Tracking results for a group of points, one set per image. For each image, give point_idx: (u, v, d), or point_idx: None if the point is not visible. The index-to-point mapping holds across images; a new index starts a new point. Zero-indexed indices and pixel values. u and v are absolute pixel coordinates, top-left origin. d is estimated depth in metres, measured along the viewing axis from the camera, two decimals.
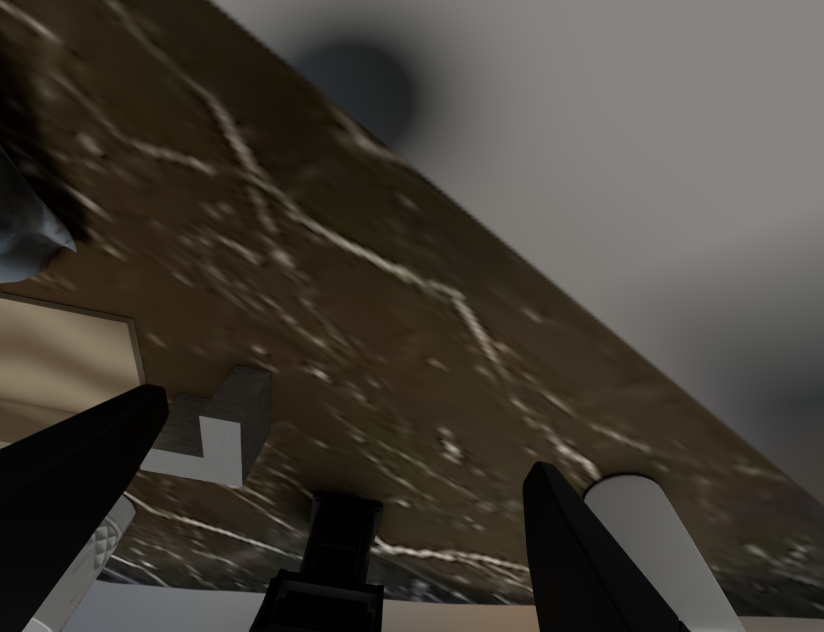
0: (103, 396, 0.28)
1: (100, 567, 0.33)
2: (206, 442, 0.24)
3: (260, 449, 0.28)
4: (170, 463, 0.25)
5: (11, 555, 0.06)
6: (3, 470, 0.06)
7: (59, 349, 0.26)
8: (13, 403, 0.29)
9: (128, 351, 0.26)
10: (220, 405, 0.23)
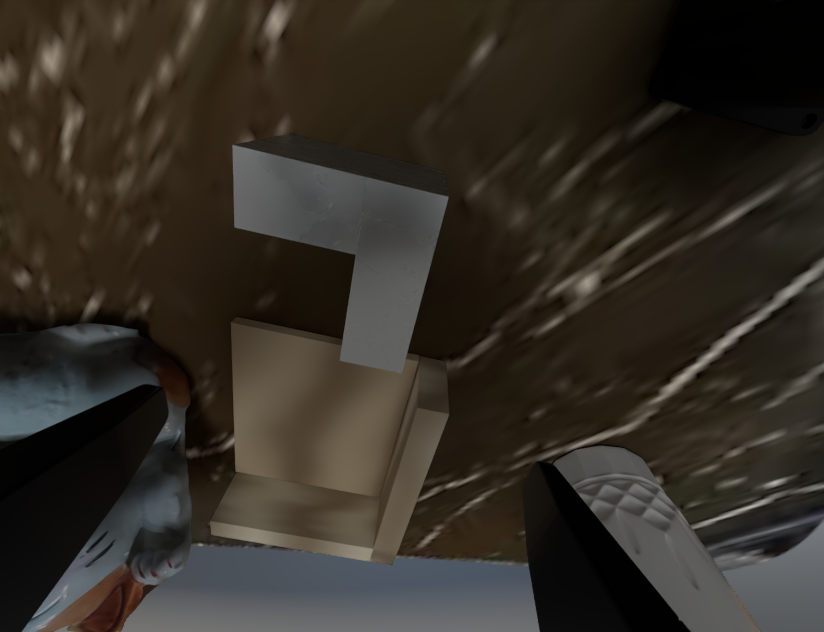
0: (364, 394, 0.21)
1: (672, 524, 0.18)
2: (308, 236, 0.12)
3: (440, 177, 0.14)
4: (379, 321, 0.13)
5: (11, 555, 0.06)
6: (3, 470, 0.06)
7: (292, 408, 0.22)
8: (384, 483, 0.25)
9: (278, 337, 0.19)
10: None
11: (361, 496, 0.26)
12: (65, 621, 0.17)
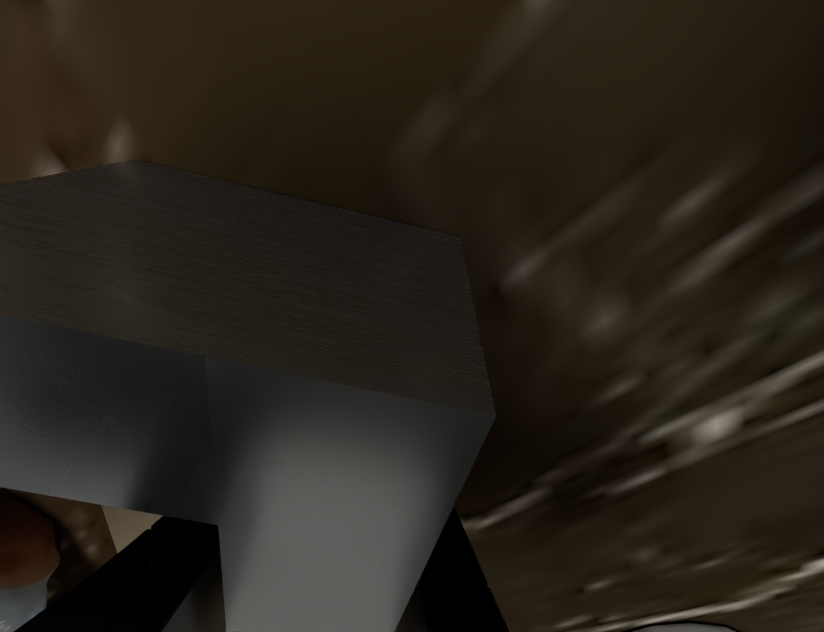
0: None
1: None
2: (67, 486, 0.04)
3: (454, 270, 0.06)
4: (307, 626, 0.06)
5: (221, 589, 0.06)
6: None
7: None
8: None
9: None
10: None
11: None
12: None
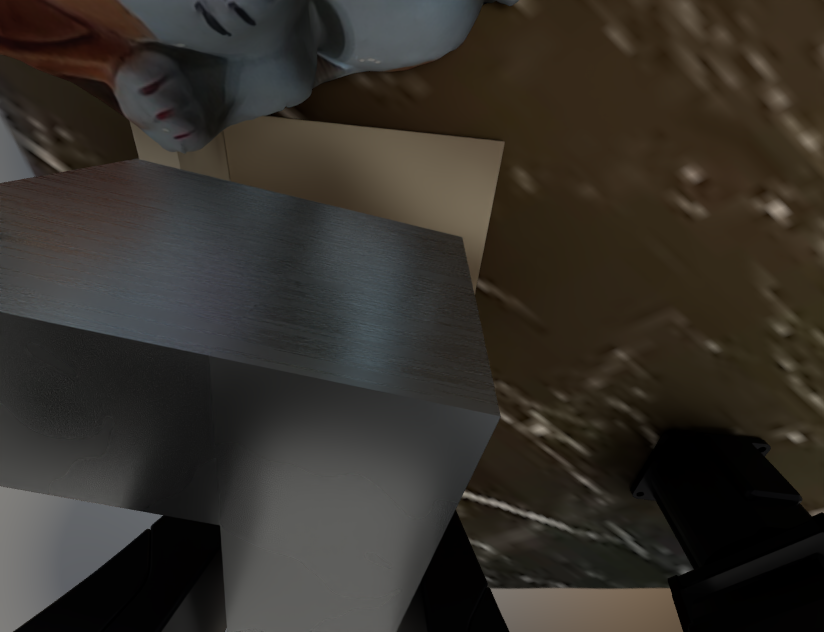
0: None
1: None
2: (68, 486, 0.04)
3: (457, 270, 0.06)
4: (309, 627, 0.05)
5: (221, 589, 0.06)
6: None
7: (377, 210, 0.17)
8: None
9: (485, 200, 0.17)
10: None
11: None
12: None
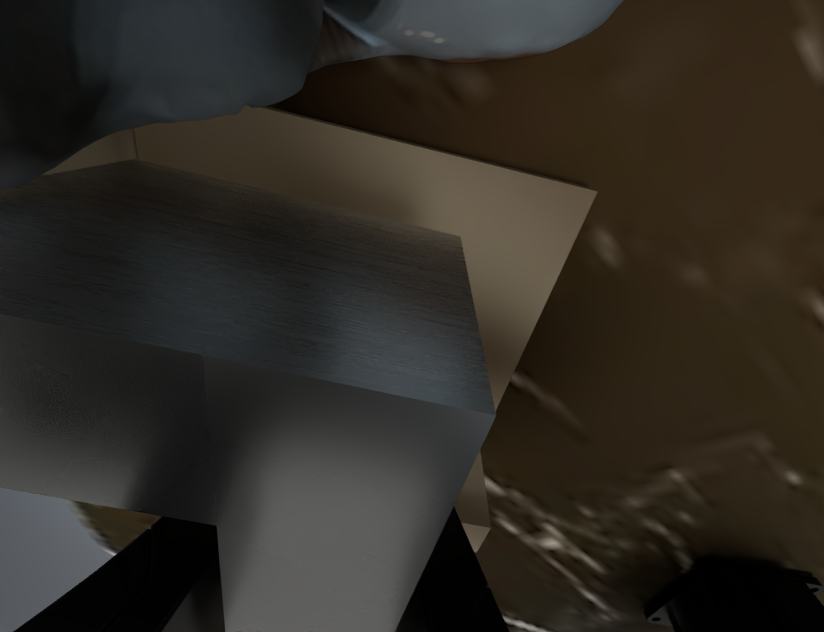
0: None
1: None
2: (64, 485, 0.04)
3: (455, 269, 0.06)
4: (306, 628, 0.05)
5: (221, 589, 0.06)
6: None
7: None
8: None
9: (548, 273, 0.11)
10: None
11: None
12: None
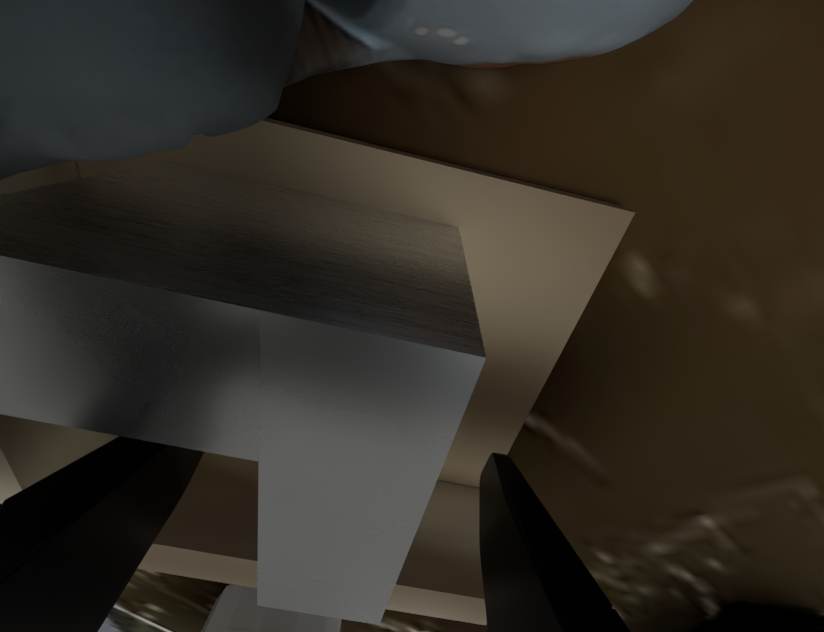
0: None
1: None
2: (136, 426, 0.05)
3: (454, 254, 0.07)
4: (328, 561, 0.06)
5: (88, 567, 0.06)
6: (80, 484, 0.06)
7: None
8: None
9: (572, 306, 0.09)
10: None
11: None
12: None
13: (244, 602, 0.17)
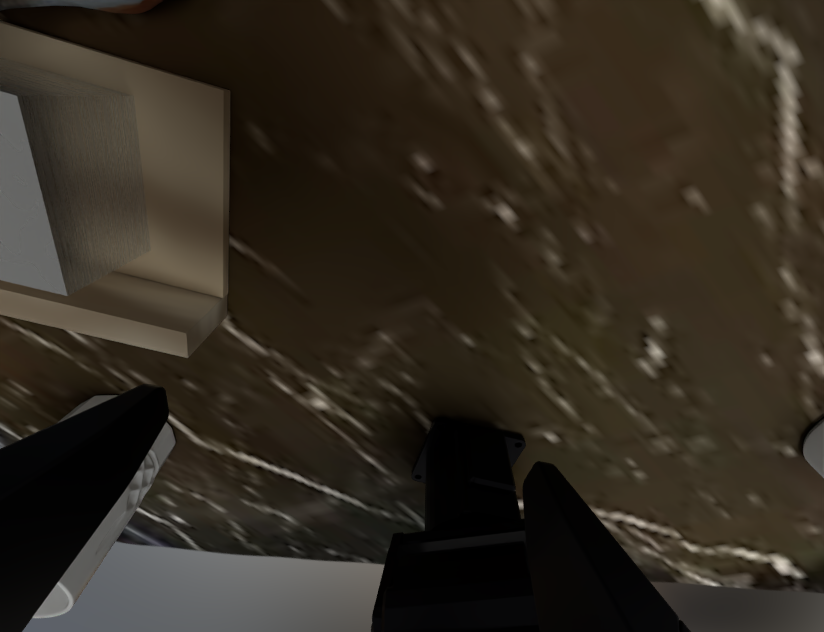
0: (160, 240, 0.18)
1: (133, 508, 0.23)
2: None
3: (92, 94, 0.14)
4: (17, 236, 0.13)
5: (11, 555, 0.06)
6: (3, 470, 0.06)
7: None
8: None
9: (216, 152, 0.16)
10: None
11: None
12: None
13: (87, 405, 0.24)
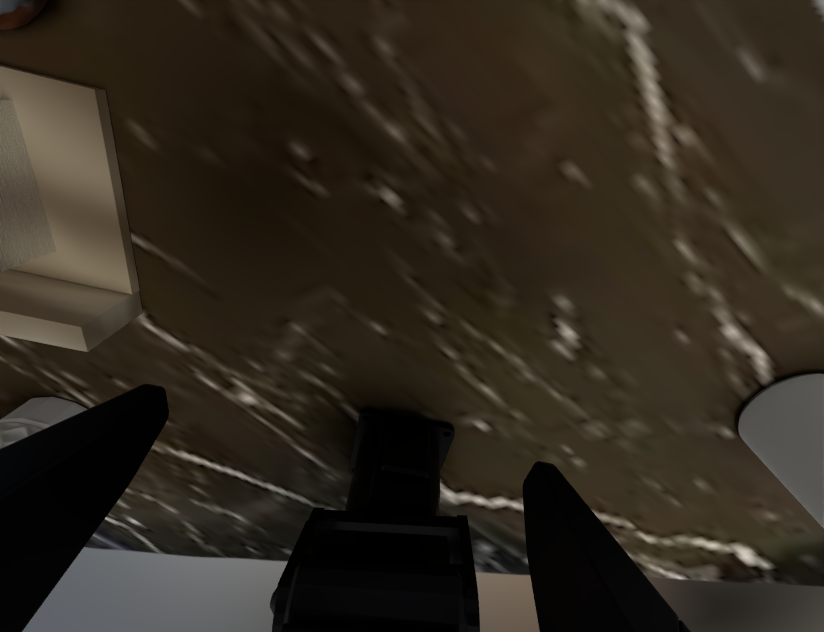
0: (63, 240, 0.19)
1: None
2: None
3: None
4: None
5: (11, 555, 0.06)
6: (3, 470, 0.06)
7: None
8: None
9: (98, 150, 0.17)
10: None
11: None
12: None
13: (22, 407, 0.25)
